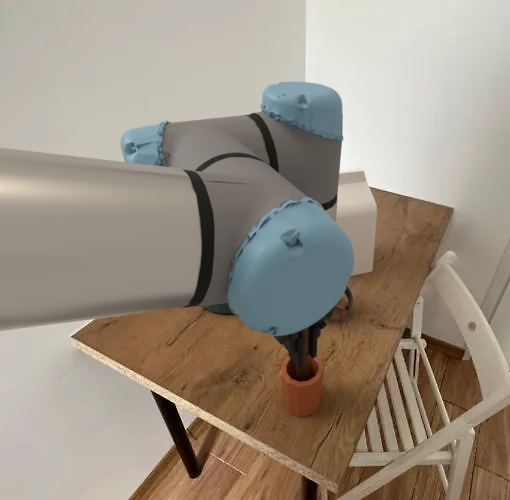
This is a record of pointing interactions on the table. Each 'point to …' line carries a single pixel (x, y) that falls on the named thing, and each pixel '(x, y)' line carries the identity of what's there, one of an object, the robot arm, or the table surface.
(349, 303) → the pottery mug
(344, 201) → the milk
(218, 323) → the table surface
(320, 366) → the crock
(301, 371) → the stirring stick
